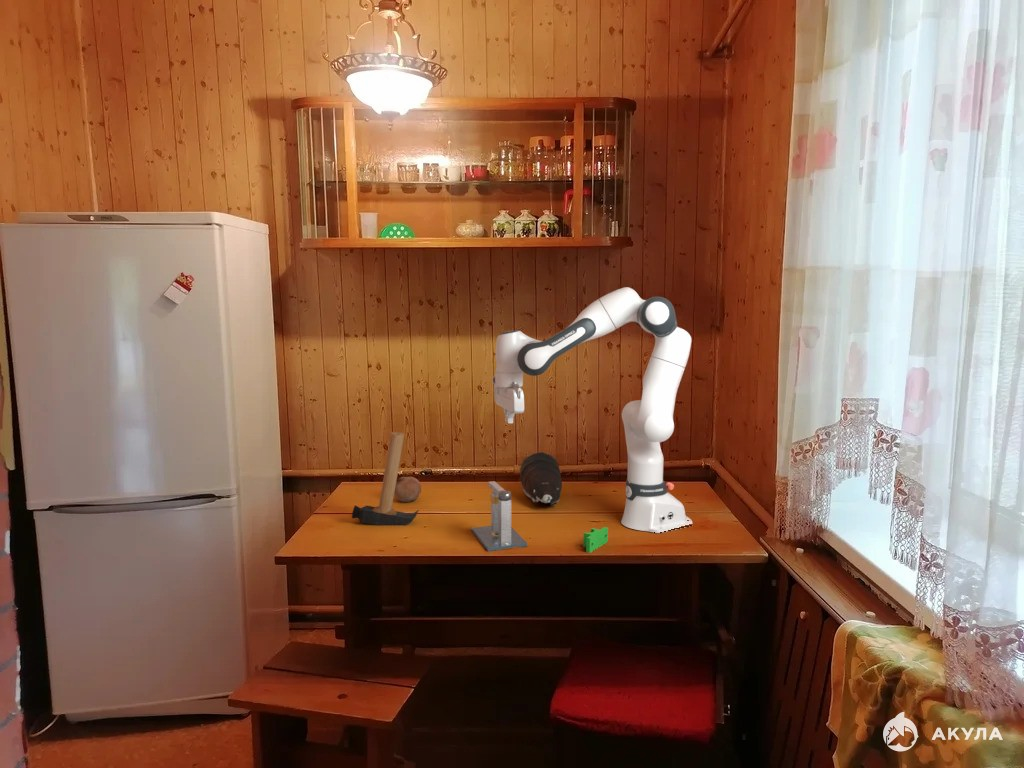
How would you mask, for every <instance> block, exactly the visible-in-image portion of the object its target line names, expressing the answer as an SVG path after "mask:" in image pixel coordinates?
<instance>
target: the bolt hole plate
mask: <svg viewBox="0 0 1024 768" xmlns="http://www.w3.org/2000/svg"><path fill="white" fill-rule="evenodd" d="M470 531H471V533H474V534H473V535H474V536H475V537H476V539H477V538H478V539H479V540H478V539H477V540H478V541H479V542H480V544H481V543H482V544H483V545H482V544H481V545H482V546H483V548H484V549H486V551H487V552H494V551H495V550H496V551H502V550H501V549H504V550H508V549H507V548H512V549H514V548H513V547H520V548H526V547H525V546H528V545H529V544H528V542H527V541H526V540H525V539H524V538H523V537H522V536H521V535H520V534H519V533H518V532H517V530H515V529H514V528H513V527H512V526H511V543H507V544H501V543H500V542H499V541H498V534H496V533H495V532H494V531H493V530H492V529H491V525H487V526H486V525H485V526H477V527H470ZM523 546H524V547H523Z"/></svg>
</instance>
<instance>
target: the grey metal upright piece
mask: <svg viewBox="0 0 1024 768" xmlns="http://www.w3.org/2000/svg"><path fill="white" fill-rule="evenodd" d="M487 484H488V488H490V490H492V492H495V493H496V494H497V495H498V496H499V498H498V541H499V542H500V543H501V544H507V543H511V527H512V491H510V490H505V489H504V488H503V486H501V485H500V484H499V483H497V482H496V481H488V483H487Z"/></svg>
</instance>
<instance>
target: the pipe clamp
mask: <svg viewBox="0 0 1024 768" xmlns="http://www.w3.org/2000/svg"><path fill="white" fill-rule="evenodd" d="M582 540H583V541H582V542H583V544H582V546H583V548H584V547H586V548H585V549H586V551H585V552H586V553H587V552H589V553H588V554H591V553H592V552H594V551H596V550H597V549H599V548H600V547H601V546H603V544H604V545H605V544H607V543H608V542H609V527H607V526H604V527H602V528H601V529H599V528H594V527H592V528H590V532H583V539H582ZM598 547H599V548H598ZM595 549H596V550H595ZM593 550H594V551H593Z"/></svg>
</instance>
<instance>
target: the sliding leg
mask: <svg viewBox="0 0 1024 768" xmlns="http://www.w3.org/2000/svg"><path fill="white" fill-rule="evenodd" d="M498 498H499V496H498V495H497V494H496V493H495V492H494V491H491V493H490V508H491V510H490V519H491V524H490V526H491V529H492V530H493V531H494V532H495V533H496V534H498Z"/></svg>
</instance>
